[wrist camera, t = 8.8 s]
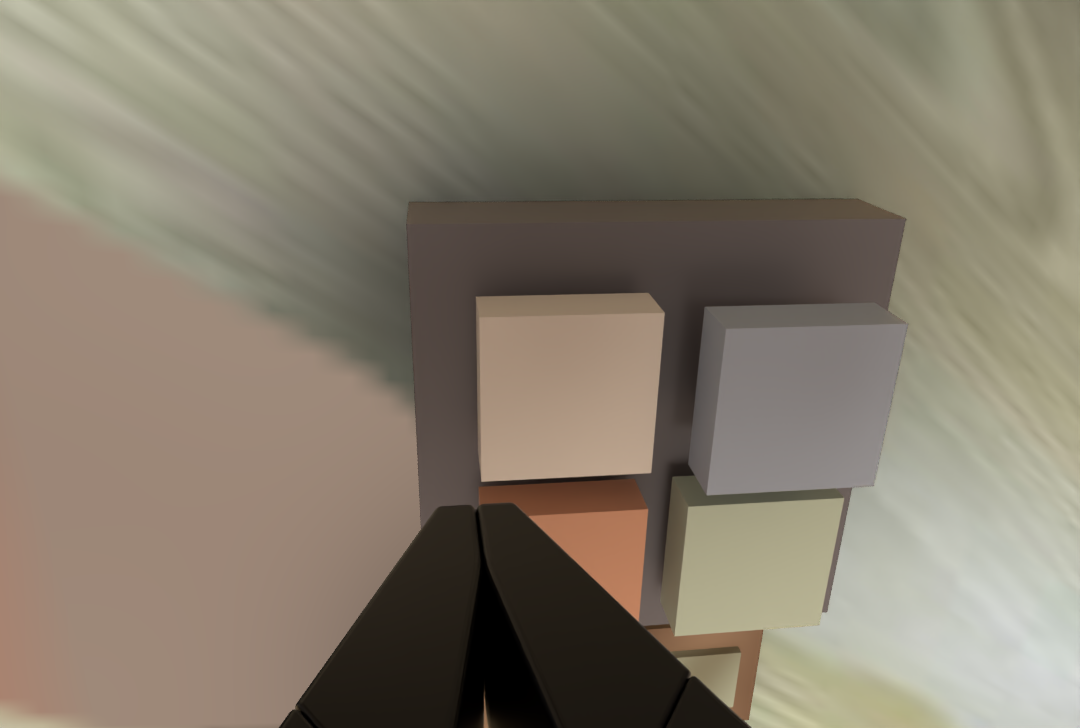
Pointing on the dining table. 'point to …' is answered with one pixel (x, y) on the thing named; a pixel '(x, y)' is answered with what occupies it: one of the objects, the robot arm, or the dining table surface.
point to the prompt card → (715, 662)
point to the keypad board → (621, 267)
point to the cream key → (567, 384)
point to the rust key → (590, 528)
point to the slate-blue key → (793, 396)
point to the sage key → (747, 558)
